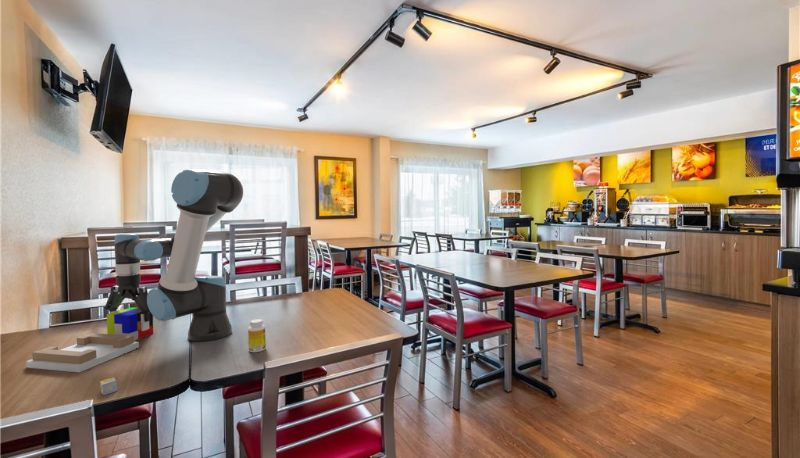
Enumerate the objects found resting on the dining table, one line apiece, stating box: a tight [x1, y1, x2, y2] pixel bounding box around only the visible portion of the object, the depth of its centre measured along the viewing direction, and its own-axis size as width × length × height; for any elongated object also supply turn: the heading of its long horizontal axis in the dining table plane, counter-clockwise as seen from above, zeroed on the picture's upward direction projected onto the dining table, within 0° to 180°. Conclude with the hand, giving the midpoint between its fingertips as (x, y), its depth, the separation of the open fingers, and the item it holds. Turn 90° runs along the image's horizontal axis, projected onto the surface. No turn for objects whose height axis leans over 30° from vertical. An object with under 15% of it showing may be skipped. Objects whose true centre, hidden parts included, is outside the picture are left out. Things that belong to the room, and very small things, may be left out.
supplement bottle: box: [247, 318, 267, 353], centre depth 125 cm, size 6×6×10 cm
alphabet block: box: [99, 377, 118, 396], centre depth 97 cm, size 3×3×3 cm
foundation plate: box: [25, 332, 140, 373], centre depth 120 cm, size 20×20×4 cm
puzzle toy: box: [106, 306, 154, 342], centre depth 139 cm, size 10×10×10 cm
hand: (130, 328), depth 139 cm, fingers open, 13 cm apart
